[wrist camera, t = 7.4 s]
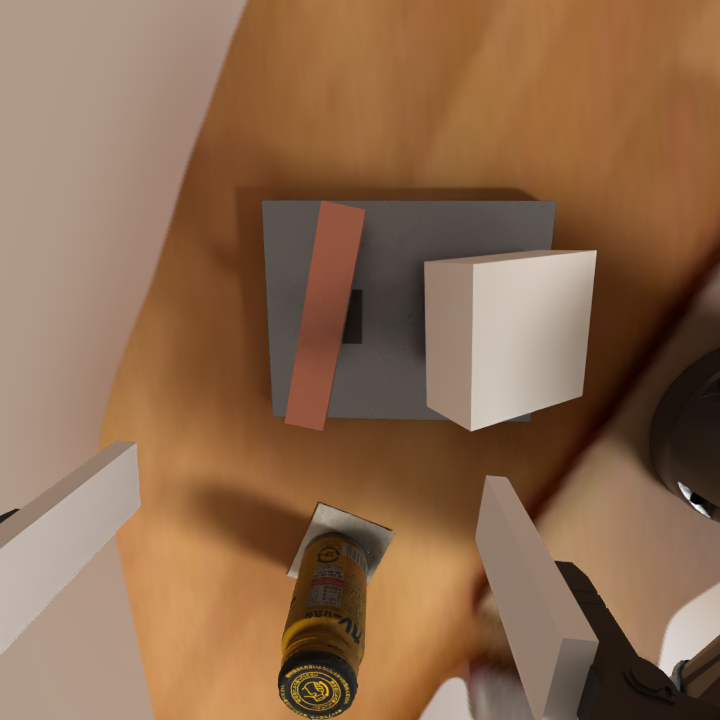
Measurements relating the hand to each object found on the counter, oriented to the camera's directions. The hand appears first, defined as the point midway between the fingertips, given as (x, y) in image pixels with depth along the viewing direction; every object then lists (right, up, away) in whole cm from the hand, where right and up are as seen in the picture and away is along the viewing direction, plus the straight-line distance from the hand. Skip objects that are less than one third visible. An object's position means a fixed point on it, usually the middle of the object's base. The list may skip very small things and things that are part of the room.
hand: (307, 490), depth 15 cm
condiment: (0, -13, +23) cm, 26 cm away
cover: (+10, +7, +11) cm, 17 cm away
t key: (0, +8, +15) cm, 17 cm away
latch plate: (+5, +8, +17) cm, 19 cm away
